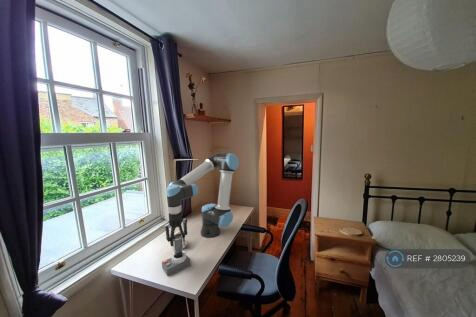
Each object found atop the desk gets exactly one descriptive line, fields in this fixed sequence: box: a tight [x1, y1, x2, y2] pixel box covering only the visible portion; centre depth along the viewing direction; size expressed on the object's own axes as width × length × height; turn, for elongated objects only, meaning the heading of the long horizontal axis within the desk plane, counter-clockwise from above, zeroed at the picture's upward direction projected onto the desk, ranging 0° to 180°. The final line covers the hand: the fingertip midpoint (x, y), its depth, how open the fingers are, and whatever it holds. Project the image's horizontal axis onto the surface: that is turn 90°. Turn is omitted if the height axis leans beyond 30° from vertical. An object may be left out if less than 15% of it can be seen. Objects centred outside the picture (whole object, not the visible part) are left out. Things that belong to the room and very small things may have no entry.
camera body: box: [161, 250, 191, 277], centre depth 116 cm, size 14×9×6 cm, turn 129°
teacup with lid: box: [174, 230, 189, 250], centre depth 135 cm, size 12×9×12 cm
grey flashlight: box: [173, 233, 183, 258], centre depth 116 cm, size 5×5×13 cm
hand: (178, 248), depth 116 cm, fingers closed on grey flashlight, 4 cm apart
